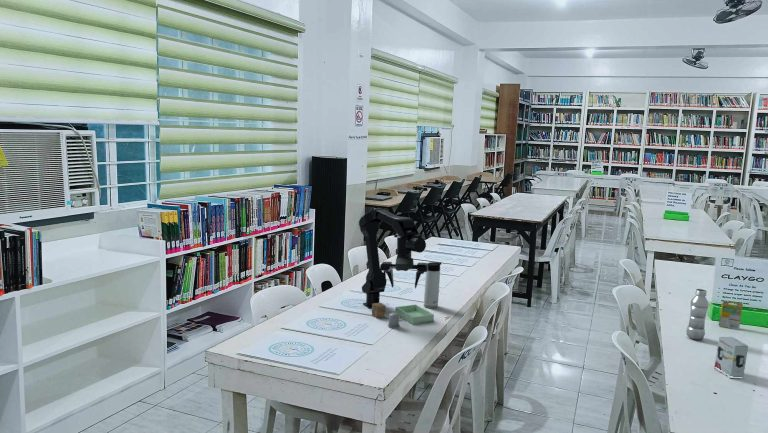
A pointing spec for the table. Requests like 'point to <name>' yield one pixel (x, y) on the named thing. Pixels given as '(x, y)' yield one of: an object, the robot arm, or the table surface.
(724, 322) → the crayon box
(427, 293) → the travel mug
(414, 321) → the parts tray
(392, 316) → the grey domed knob
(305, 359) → the table surface
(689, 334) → the plastic bottle
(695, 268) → the table surface
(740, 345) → the ink box
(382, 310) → the walnut block
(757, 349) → the table surface
